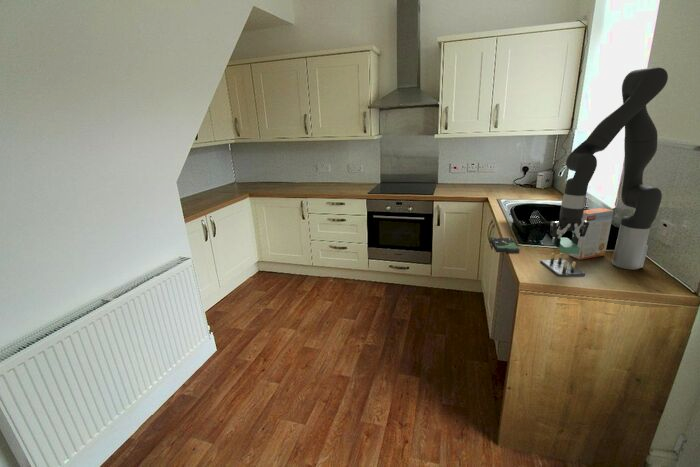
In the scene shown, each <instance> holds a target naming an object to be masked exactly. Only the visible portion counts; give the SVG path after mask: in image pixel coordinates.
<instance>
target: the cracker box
mask: <svg viewBox="0 0 700 467" xmlns="http://www.w3.org/2000/svg"><path fill="white" fill-rule="evenodd" d="M614 211H615V210H613V209H610V208H609V209H608V208H605V207H597V208H590V209H584V212H583V217H582V219H581V220H582V221H587V222H589V226H588V229H587V231H586V234H585V236H584V237H583V236H582V237H580V238H579V240H578V244H577V246H578V247H580V251H579V254H569V255H568V256H570V257H573V258H575V259H577V260H580V261H582V260H586V259H591V258H597V257H603V256H604V257H605V255H606V251H607V246H608V241H609V236H610V230H611V225H612V221H613V216H614ZM580 227H581V225H580V226H579V227H578V229H579V230H580ZM572 237H574V236H573V235H572V236H571V238H572Z"/></svg>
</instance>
